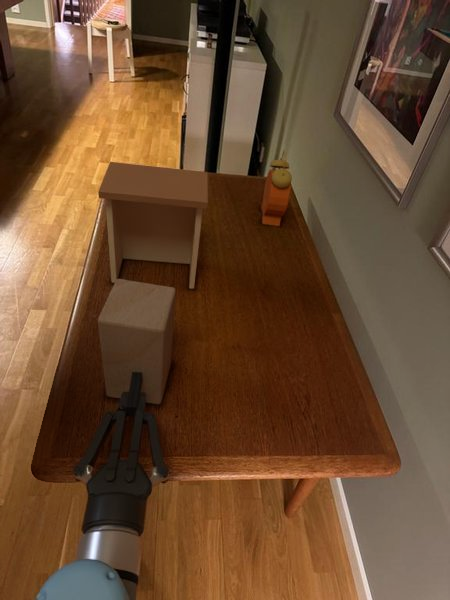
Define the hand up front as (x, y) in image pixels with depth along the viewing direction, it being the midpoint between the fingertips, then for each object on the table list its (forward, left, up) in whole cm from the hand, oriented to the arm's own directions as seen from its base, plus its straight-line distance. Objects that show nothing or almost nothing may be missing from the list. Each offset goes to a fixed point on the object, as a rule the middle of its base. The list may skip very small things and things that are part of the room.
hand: (137, 377), depth 66 cm
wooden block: (0, +5, -8) cm, 10 cm away
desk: (0, +37, -8) cm, 38 cm away
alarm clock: (+33, +70, -8) cm, 77 cm away
